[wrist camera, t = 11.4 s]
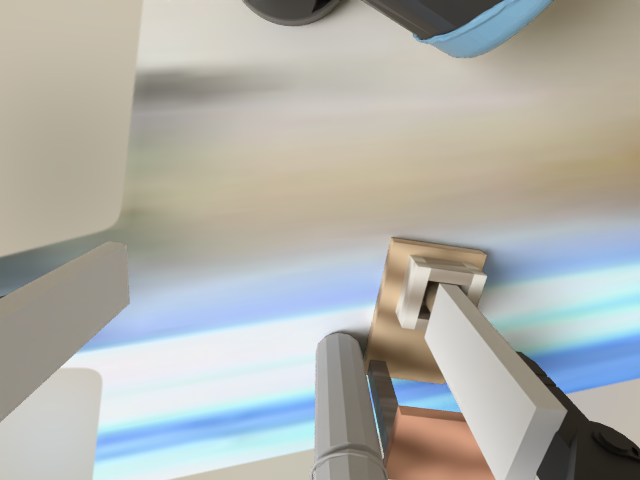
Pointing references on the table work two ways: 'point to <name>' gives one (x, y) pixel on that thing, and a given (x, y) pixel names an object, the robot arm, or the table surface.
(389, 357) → the socket station
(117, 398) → the table surface
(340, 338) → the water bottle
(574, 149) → the table surface
